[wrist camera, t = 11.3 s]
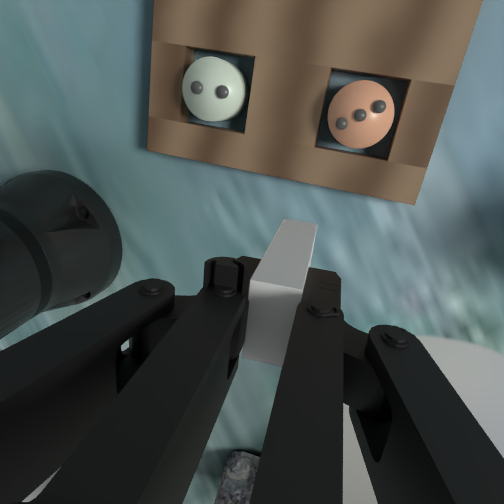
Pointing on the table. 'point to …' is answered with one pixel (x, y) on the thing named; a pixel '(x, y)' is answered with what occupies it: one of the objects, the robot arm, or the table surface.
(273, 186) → the table surface
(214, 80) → the button two
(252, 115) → the panel
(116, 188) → the table surface
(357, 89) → the button three
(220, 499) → the mineral rock
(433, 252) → the table surface
